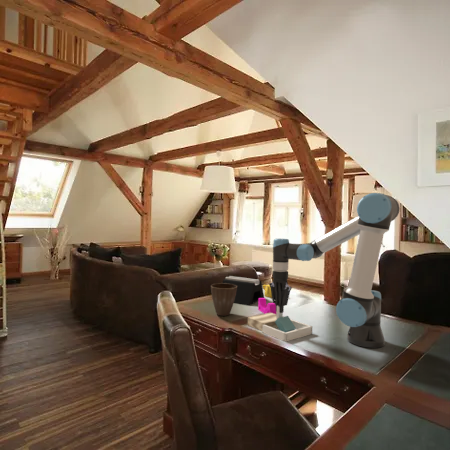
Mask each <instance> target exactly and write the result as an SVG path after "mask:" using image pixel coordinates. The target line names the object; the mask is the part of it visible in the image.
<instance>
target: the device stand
mask: <svg viewBox="0 0 450 450" xmlns="http://www.w3.org/2000/svg"><path fill="white" fill-rule="evenodd" d="M222 280H223V281H222V283H226V284H234V285H236V286H237V291H236V296H235V300H234V303H233V304H237V305H243V306H251V305H253V304H255V303H258V298H265V292H264V289H263V284H262V281H261V280H260V279H255V278H249V277H248V278H247V277H241V276H233V275H229V276H226V277H225V278H224V279H222Z"/></svg>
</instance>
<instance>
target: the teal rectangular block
mask: <svg viewBox="0 0 450 450" xmlns="http://www.w3.org/2000/svg"><path fill="white" fill-rule="evenodd" d="M290 319H291V318H290V316H288V315H286V316H285V315H284V316H283V317H281V318H278V319H277V320H276V321H275V323H276V325H277V326H278V328H277V329H278V330H280V331H283V332H289V331H293V330H296V327H295V326H294V324H293V323H292V321H291V320H292V319H291V320H290Z"/></svg>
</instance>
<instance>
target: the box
mask: <svg viewBox="0 0 450 450" xmlns="http://www.w3.org/2000/svg"><path fill="white" fill-rule="evenodd" d="M290 320H291V321H292V323H293V324H294V326H295V327H296V329H295V330H293V331H289V332H283V331H280V330H279V328H277V329H275V328H272V327H270V326H267V325H263V328H262V331H261V332H262V333H263V334H266V335H268V336H271V337H272V338H273V337H274V338H275V339H278V340H280V341H282V342H285V343H286V342H289V341H292V340H296V339H300V338H303V337H305V336H309V335H312V334H313V326H312V325H310V324H308V323H307V324H306V323H303V322H301V321H297V320H294V319H291V318H290Z"/></svg>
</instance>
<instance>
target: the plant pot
mask: <svg viewBox="0 0 450 450" xmlns="http://www.w3.org/2000/svg"><path fill="white" fill-rule="evenodd" d="M210 291H211V298H212V299H211V300H212V302H213V303H212V304H213V306H214V310H215V313H216V314H217V316H221V317H223V316H229V315H230V314H231V311H232V309H233V306H234V304H235V303H234V300H235V296H236V291H237V286H236V285H234V284H226V283H223V282H221V283H220V282H219V283H213V284H211V285H210Z"/></svg>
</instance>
